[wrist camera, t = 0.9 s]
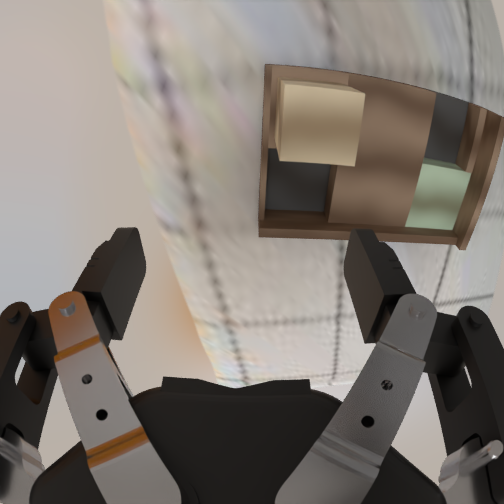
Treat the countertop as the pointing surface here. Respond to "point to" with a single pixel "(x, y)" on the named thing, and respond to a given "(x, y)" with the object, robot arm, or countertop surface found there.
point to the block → (317, 121)
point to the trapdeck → (384, 167)
